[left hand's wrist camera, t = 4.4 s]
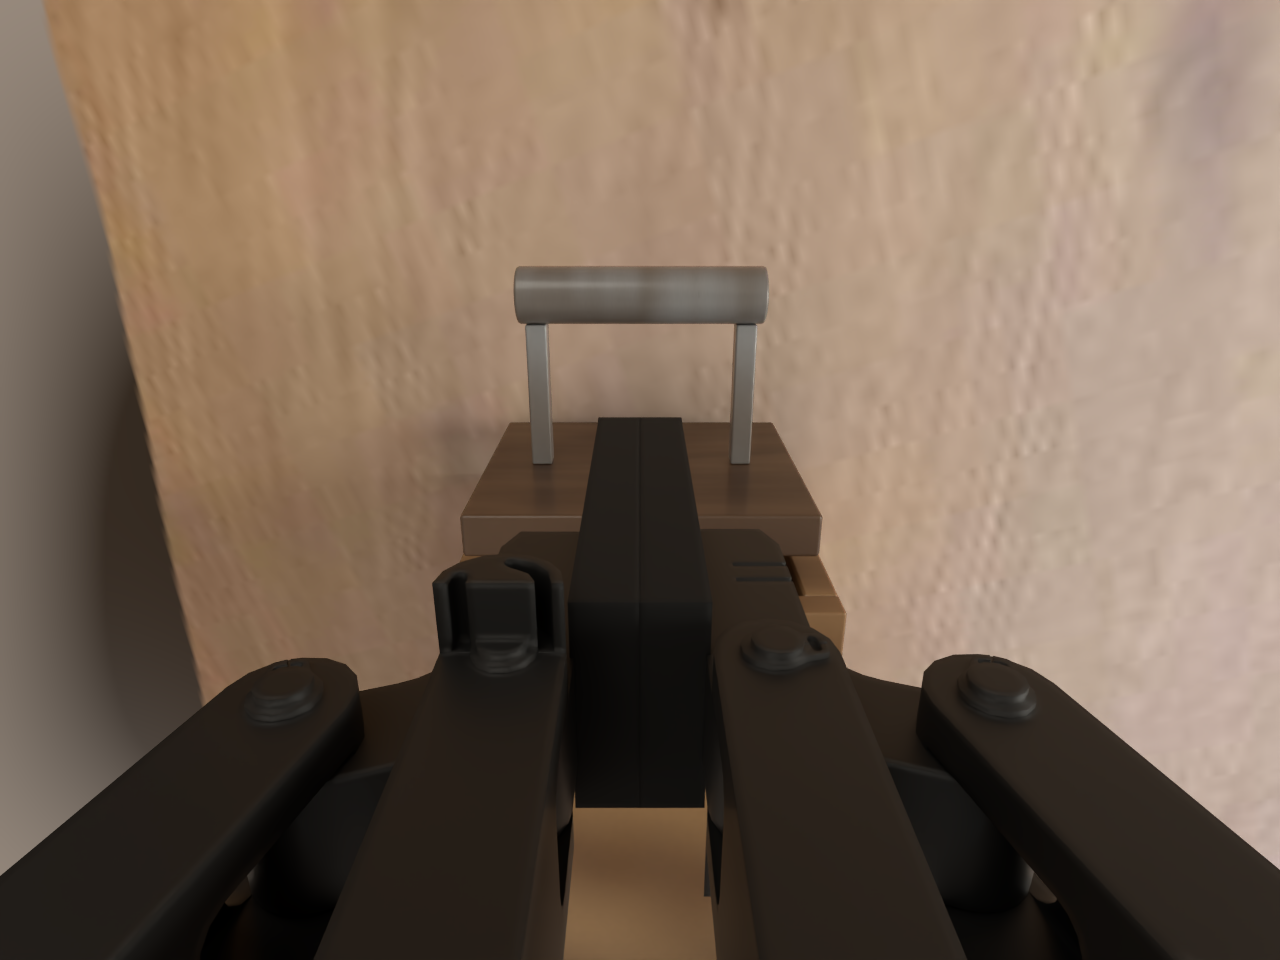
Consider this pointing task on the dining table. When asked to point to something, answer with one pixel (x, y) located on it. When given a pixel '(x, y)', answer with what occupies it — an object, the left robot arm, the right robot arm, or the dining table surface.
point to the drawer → (717, 452)
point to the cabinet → (661, 848)
